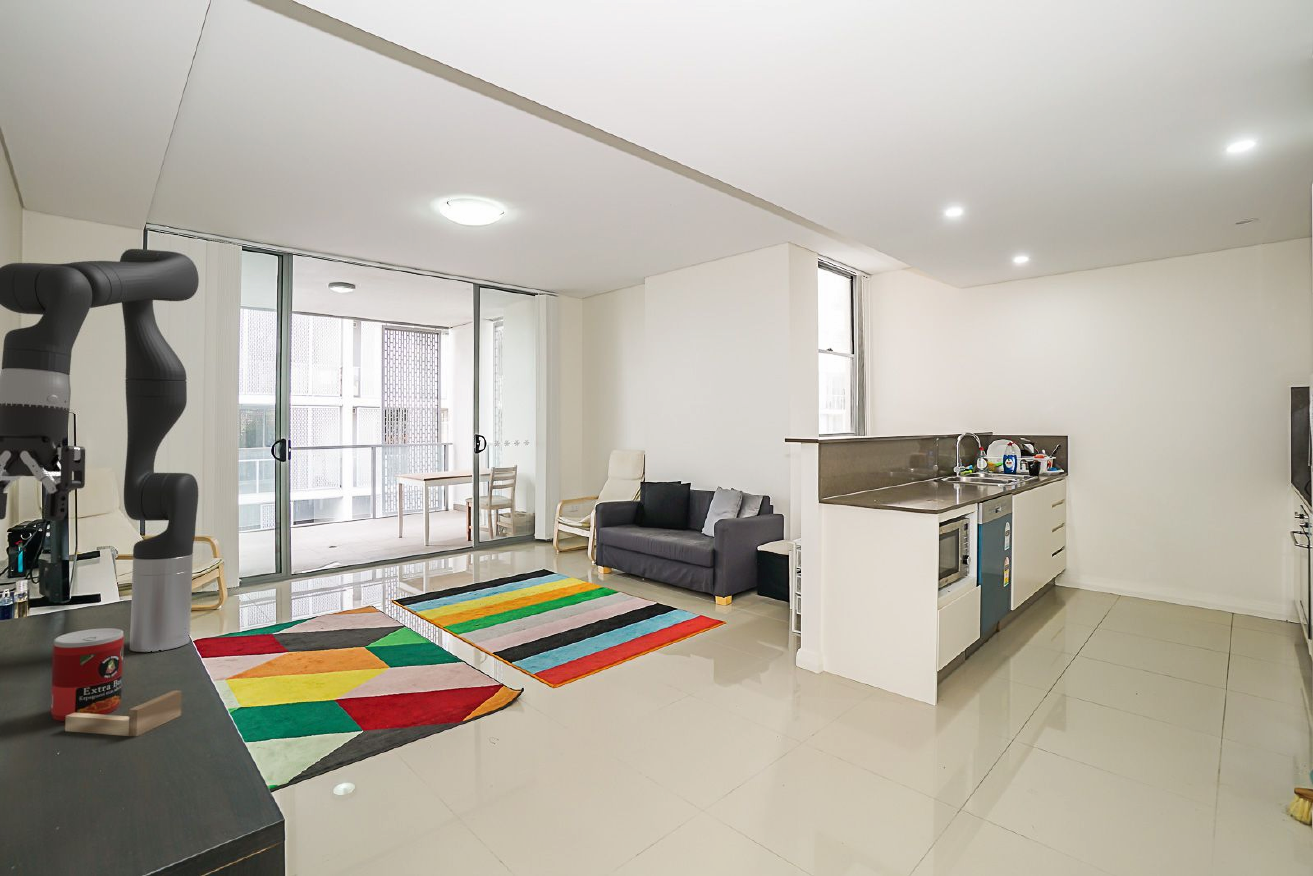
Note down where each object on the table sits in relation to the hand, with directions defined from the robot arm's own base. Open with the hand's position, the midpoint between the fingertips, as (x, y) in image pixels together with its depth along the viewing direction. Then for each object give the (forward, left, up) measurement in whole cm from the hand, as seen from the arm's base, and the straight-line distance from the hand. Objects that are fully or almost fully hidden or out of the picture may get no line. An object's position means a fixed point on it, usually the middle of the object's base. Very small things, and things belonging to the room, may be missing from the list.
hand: (24, 520), depth 90 cm
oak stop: (+12, +8, -28) cm, 32 cm away
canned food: (+3, +7, -28) cm, 29 cm away
